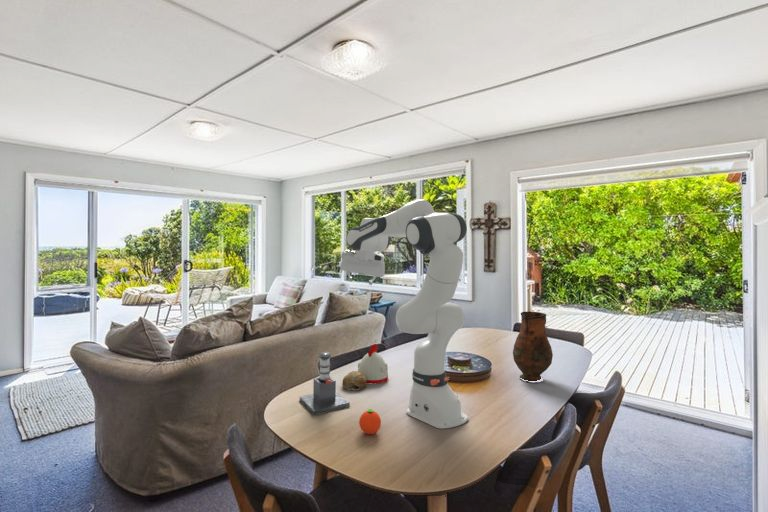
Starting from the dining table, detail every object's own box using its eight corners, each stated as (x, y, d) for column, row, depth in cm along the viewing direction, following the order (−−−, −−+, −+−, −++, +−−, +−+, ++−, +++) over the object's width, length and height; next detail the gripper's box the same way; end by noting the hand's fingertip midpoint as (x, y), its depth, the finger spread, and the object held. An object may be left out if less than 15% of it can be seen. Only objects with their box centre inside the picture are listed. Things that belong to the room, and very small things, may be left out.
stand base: (349, 406, 140) (350, 380, 139) (313, 415, 132) (314, 387, 132) (333, 393, 151) (333, 369, 151) (299, 400, 144) (300, 375, 144)
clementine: (358, 426, 125) (359, 404, 125) (380, 425, 125) (380, 404, 125) (359, 438, 117) (359, 416, 117) (381, 438, 117) (381, 415, 117)
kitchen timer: (392, 375, 173) (393, 343, 172) (379, 386, 160) (380, 351, 160) (365, 371, 178) (366, 339, 178) (351, 380, 166) (351, 346, 165)
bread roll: (343, 398, 155) (345, 384, 152) (340, 380, 164) (341, 366, 161) (367, 396, 158) (369, 382, 155) (362, 378, 167) (364, 364, 163)
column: (332, 399, 141) (333, 354, 140) (321, 402, 139) (321, 356, 138) (327, 395, 145) (328, 351, 144) (316, 397, 142) (316, 352, 142)
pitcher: (505, 379, 171) (507, 312, 170) (525, 368, 186) (527, 307, 185) (542, 389, 160) (544, 318, 158) (560, 377, 175) (563, 312, 174)
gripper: (341, 250, 166) (336, 280, 169) (387, 258, 167) (382, 288, 170) (343, 248, 173) (338, 277, 175) (387, 255, 173) (382, 284, 176)
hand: (360, 282), depth 173 cm, fingers open, 8 cm apart
